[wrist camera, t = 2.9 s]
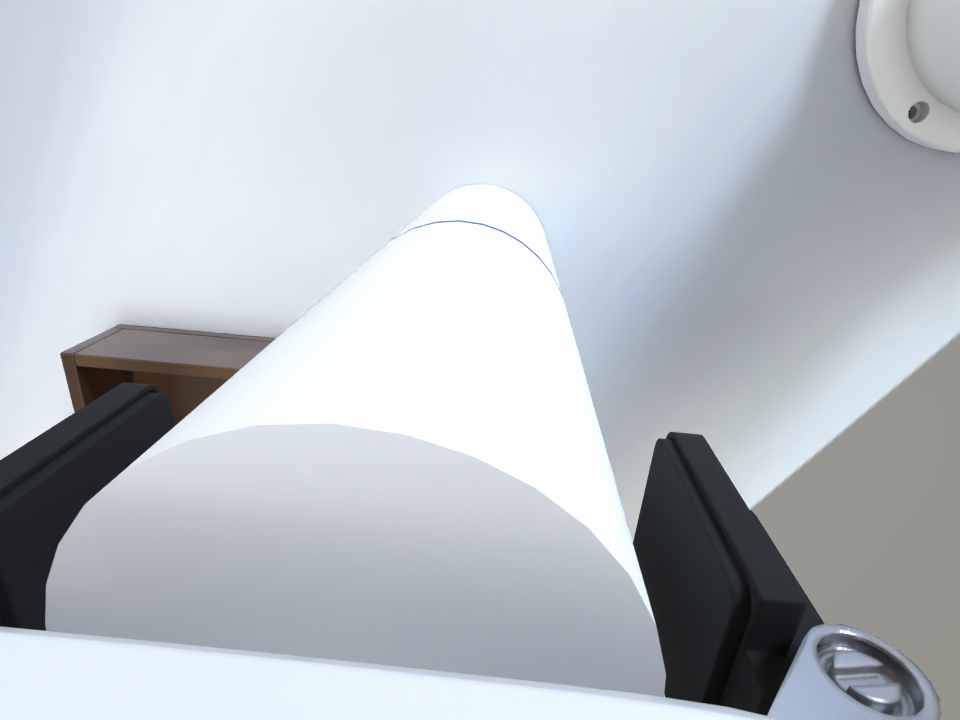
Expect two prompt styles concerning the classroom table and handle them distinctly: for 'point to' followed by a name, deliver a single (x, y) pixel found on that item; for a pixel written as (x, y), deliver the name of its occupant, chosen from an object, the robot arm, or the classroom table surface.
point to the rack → (157, 363)
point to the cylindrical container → (388, 483)
